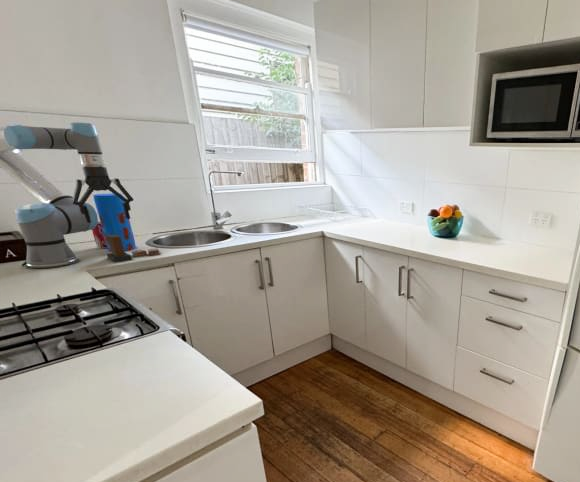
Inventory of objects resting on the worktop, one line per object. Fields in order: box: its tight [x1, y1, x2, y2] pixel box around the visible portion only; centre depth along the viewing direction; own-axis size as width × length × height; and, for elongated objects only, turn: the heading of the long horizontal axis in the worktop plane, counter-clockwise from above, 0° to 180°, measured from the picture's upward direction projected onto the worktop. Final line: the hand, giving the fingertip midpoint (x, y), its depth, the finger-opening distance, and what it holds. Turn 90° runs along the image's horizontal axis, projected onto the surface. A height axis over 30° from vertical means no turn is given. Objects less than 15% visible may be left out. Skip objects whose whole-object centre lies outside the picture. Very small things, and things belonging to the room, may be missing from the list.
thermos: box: [92, 192, 137, 252], centre depth 176 cm, size 11×11×25 cm
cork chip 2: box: [147, 248, 161, 256], centre depth 173 cm, size 4×4×2 cm
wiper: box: [106, 234, 133, 263], centre depth 163 cm, size 6×10×10 cm, turn 52°
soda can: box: [91, 220, 109, 250], centre depth 181 cm, size 7×7×12 cm
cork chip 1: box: [131, 249, 148, 258], centre depth 171 cm, size 4×4×2 cm
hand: (109, 220), depth 158 cm, fingers open, 13 cm apart
